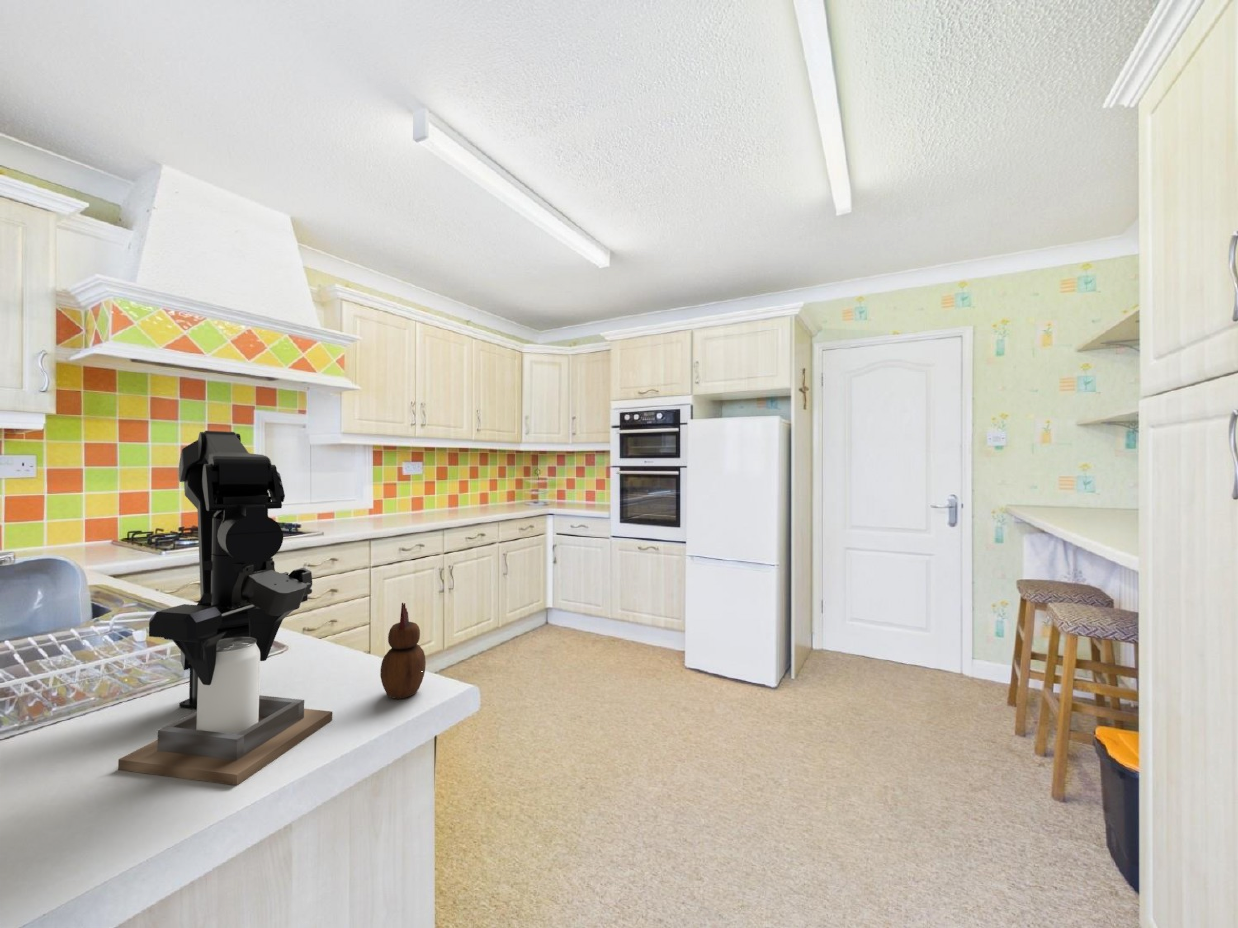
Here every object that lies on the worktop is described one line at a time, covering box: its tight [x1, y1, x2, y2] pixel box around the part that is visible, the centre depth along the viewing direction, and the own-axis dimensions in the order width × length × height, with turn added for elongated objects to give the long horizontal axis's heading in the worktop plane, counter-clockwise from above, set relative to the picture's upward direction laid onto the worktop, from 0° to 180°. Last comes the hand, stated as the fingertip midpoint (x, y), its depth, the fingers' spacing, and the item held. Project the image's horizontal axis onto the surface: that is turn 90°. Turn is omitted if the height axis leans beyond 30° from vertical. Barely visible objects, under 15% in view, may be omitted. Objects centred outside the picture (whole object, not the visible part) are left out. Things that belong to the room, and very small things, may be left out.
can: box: [196, 637, 261, 735], centre depth 70 cm, size 6×6×12 cm
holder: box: [117, 694, 333, 786], centre depth 71 cm, size 16×16×4 cm
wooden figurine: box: [379, 602, 427, 700], centre depth 87 cm, size 7×6×15 cm
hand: (236, 671), depth 71 cm, fingers open, 8 cm apart
